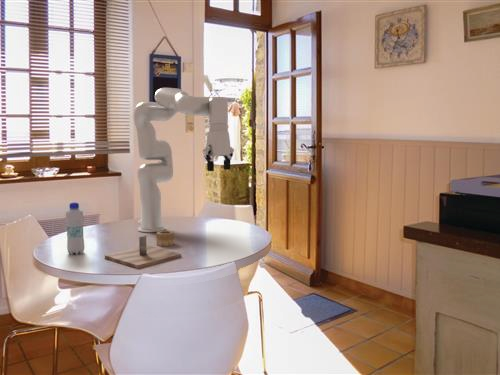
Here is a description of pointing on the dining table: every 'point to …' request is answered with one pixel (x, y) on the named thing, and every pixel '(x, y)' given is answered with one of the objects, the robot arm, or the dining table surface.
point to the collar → (165, 238)
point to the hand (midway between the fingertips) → (218, 170)
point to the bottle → (74, 229)
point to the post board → (142, 255)
